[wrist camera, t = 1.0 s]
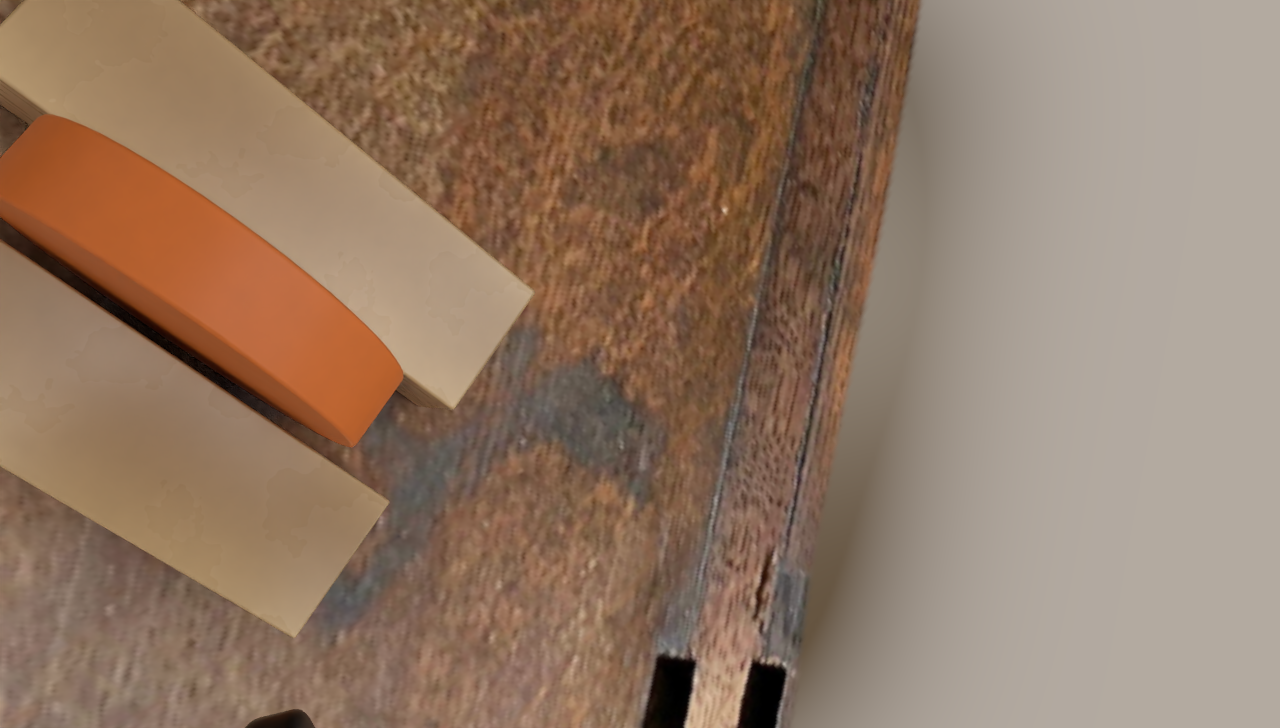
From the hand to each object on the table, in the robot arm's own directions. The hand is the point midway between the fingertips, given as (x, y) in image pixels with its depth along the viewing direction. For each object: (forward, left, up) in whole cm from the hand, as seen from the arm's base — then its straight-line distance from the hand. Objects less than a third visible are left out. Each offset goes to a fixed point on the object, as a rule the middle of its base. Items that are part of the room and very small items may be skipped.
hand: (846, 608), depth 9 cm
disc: (0, +5, -15) cm, 16 cm away
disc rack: (0, +5, -15) cm, 16 cm away
